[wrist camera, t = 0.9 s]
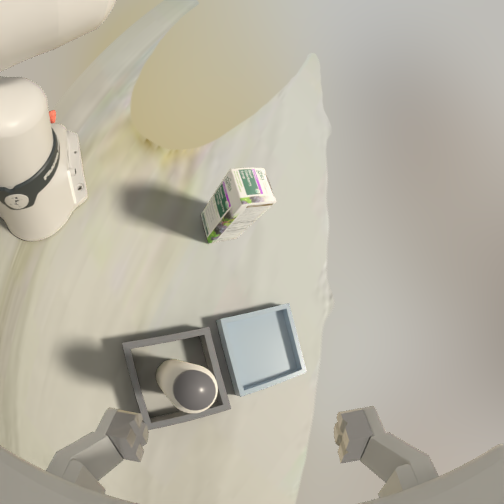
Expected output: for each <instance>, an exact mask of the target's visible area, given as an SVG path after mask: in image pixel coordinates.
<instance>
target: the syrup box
mask: <svg viewBox="0 0 504 504" xmlns="http://www.w3.org/2000/svg"><path fill="white" fill-rule="evenodd" d="M275 202H276V199H275V197H274V195H273V191H272V188H271V185H270V182H269V180H268V177H267V175H266V172H265V169H264V168H235V169H230V170H229V171H228V173H227V174H226V176H225V177H224V179H223V181H222V182H221V184H220V185H219V187H218V188H217V190H216V192H215V193H214V195H213V196H212V198H211V199H210V201H209V203H208V204H207V206H206V207H205V209H204V210H203V212H202V213H201V217H202V221H203V226H204V229H205V233H206V237H207V240H208V243H214V242H220V241H225V240H231V239H237V238H238V237H239V236H240V235H241V234H242V233H243V232H244V231H246V230H247V229H248V228H249V227H250V226H251V225H252V224H253V223H254V222H255V221H256V220H257V219H258V218H259V217H260V216H261V215H262V214H263V213H264V212H265V211H267V210H268V209H269V208H270V207H271V206H272V205H273V204H274V203H275Z"/></svg>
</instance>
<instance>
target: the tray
mask: <svg viewBox="0 0 504 504" xmlns="http://www.w3.org/2000/svg"><path fill="white" fill-rule="evenodd" d="M216 323H217V327H218V331H219V335H220V339H221V343H222V347H223V351H224V355H225V358H226V362H227V366H228V370H229V374H230V377H231V381H232V385H233V388H234V392H235V395H237V396H240V397H242V396H245V395H248V394H251V393H253V392H256V391H259V390H262V389H265V388H268V387H270V386H273V385H276V384H278V383H281V382H284V381H286V380H289V379H291V378H294V377H296V376H299V375H301V374H304V373H306V372H307V371H306V367H305V363H304V359H303V355H302V351H301V347H300V343H299V339H298V335H297V331H296V327H295V323H294V320H293V316H292V312H291V308H290V304H289V303H287V304H283V305H279V306H275V307H271V308H267V309H262V310H258V311H254V312H250V313H245V314H241V315H236V316H232V317H227V318H223V319H219V320H216Z"/></svg>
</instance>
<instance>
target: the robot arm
mask: <svg viewBox="0 0 504 504" xmlns="http://www.w3.org/2000/svg"><path fill="white" fill-rule="evenodd" d="M115 3H116V0H0V72H2V71H4V70H6V69H8V68H10V67H12V66H14V65H16V64H19V63H21V62H23V61H26V60H28V59H30V58H33V57H35V56H38V55H40V54H43V53H45V52H48V51H51V50H54V49H56V48H58V47H60V46H62V45H64V44H66V43H68V42H70V41H72V40H75V39H77V38H78V37H81V36H83V35H85V34H87V33H89V32H91V31H93V30H96V29H97V28H98V27H99V26H100V25H101V24H102V23H103V22H104V21H105V19H106V18H107V17H108V15H109V14H110V12H111V11H112V9H113V7H114V5H115ZM55 119H56V112H55V110H52V111H49V109H48V103H47V97H46V94H45V92H44V91H43V89H42V88H41V87H40V86H39V85H38V84H36V83H35V82H33V81H31V80H29V79H27V78H22V77H1V76H0V217H1V218H2V219H4V221H5V222H6V224H7V226H8V228H9V230H10V231H11V232H12V233H13V234H14V235H15V236H16V237H18V238H20V239H22V240H26V241H38V240H42V239H45V238H47V237H49V236H51V235H53V234H54V233H56V232H57V231H58V230H59V229H60V228H61V227H62V226H63V225H64V224H65V223H66V221H67V220H68V219H69V217H70V215H71V214H72V212H73V211H74V209H75V208H77V207H78V206H79V205H81V204H82V203H83V202H84V201H85V200H86V199H87V197H88V192H87V187H86V182H85V176H84V170H83V165H82V158H81V152H80V144H79V138H78V135H77V134H76V133H74V132H71V131H67V130H66V127H65V126H63V125H61V124H58V123H54V122H55ZM79 188H82V189H81V190H78V189H79ZM142 420H143V417H142V415H141V413H135V412H130V411H125V410H120V409H115V408H110V407H109V408H108V409H107V410H106V412H105V413H104V415H103V417H102V419H101V421H100V423H99V425H98V427H97V429H96V431H95V432H91V433H89V434H87V435H86V436H84V437H82V438H80V439H79V440H77V441H75V442H73V443H72V444H70V445H68V446H66V447H65V448H63V449H61V450H59V451H57V452H56V453H55V455H54V457H53V459H52V461H51V462H50V464H49V466H48V468H47V470H46V471H45V470H43V469H41V468H39V467H37V466H35V465H33V464H31V463H29V462H28V461H26V460H24V459H22V458H20V457H19V456H17V455H15V454H13V453H12V452H10V451H8V450H7V449H5V448H4V447H2V446H1V445H0V504H138V503H134V502H130V501H126V500H122V499H119V498H115V497H112V496H109V495H105V491H106V490H105V488H104V487H103V486H102V485H101V484H100V483H99V482H98V481H99V480H100V479H101V478H102V477H104V476H105V475H106V474H107V473H108V472H110V471H111V470H112V469H113V468H114V467H116V466H117V465H118V464H119V463H120V462H121V461H123V459H126V460H132V461H137V462H141V459H142V456H143V453H144V450H143V447H142V446H144V445H145V444H147V441H148V435H149V432H148V428H147V425H146V424H145V423H143V422H142ZM337 421H338V422H337V423H336V424H335V427H334V438H335V442H336V444H337V445H338V446H339V449H338V455H339V458H340V462H341V463H346V462H351V461H357V460H360V461H361V462H362V463H363V464H364V465H366V466H367V467H368V468H369V469H370V470H371V471H373V472H374V473H375V474H376V475H378V477H380V478H381V479H382V480H383V481H385V482H386V484H385V485H384V486H383V488H382V489H381V490H380V492H379V493H378V496H379V498H378V499H374V500H371V501H367V502H363V503H359V504H504V444H499V445H497V446H495V447H493V448H492V449H490V450H489V451H487V452H485V453H484V454H482V455H480V456H478V457H477V458H475V459H473V460H471V461H470V462H467V463H466V464H464V465H462V466H460V467H458V468H456V469H454V470H452V471H450V472H448V473H445V474H443V475H441V476H438V474H437V471H436V469H435V467H434V465H433V463H432V461H431V459H430V457H429V455H427V454H426V453H424V452H422V451H420V450H419V449H417V448H415V447H413V446H411V445H410V444H408V443H406V442H405V441H403V440H401V439H399V438H398V437H396V436H395V435H393V434H391V433H390V432H389V433H386V431H385V429H384V427H383V425H382V422H381V420H380V418H379V416H378V413H377V411H376V409H375V408H374V406H370V407H365V408H358V409H353V410H348V411H342V412H339V413H338V414H337Z"/></svg>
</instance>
